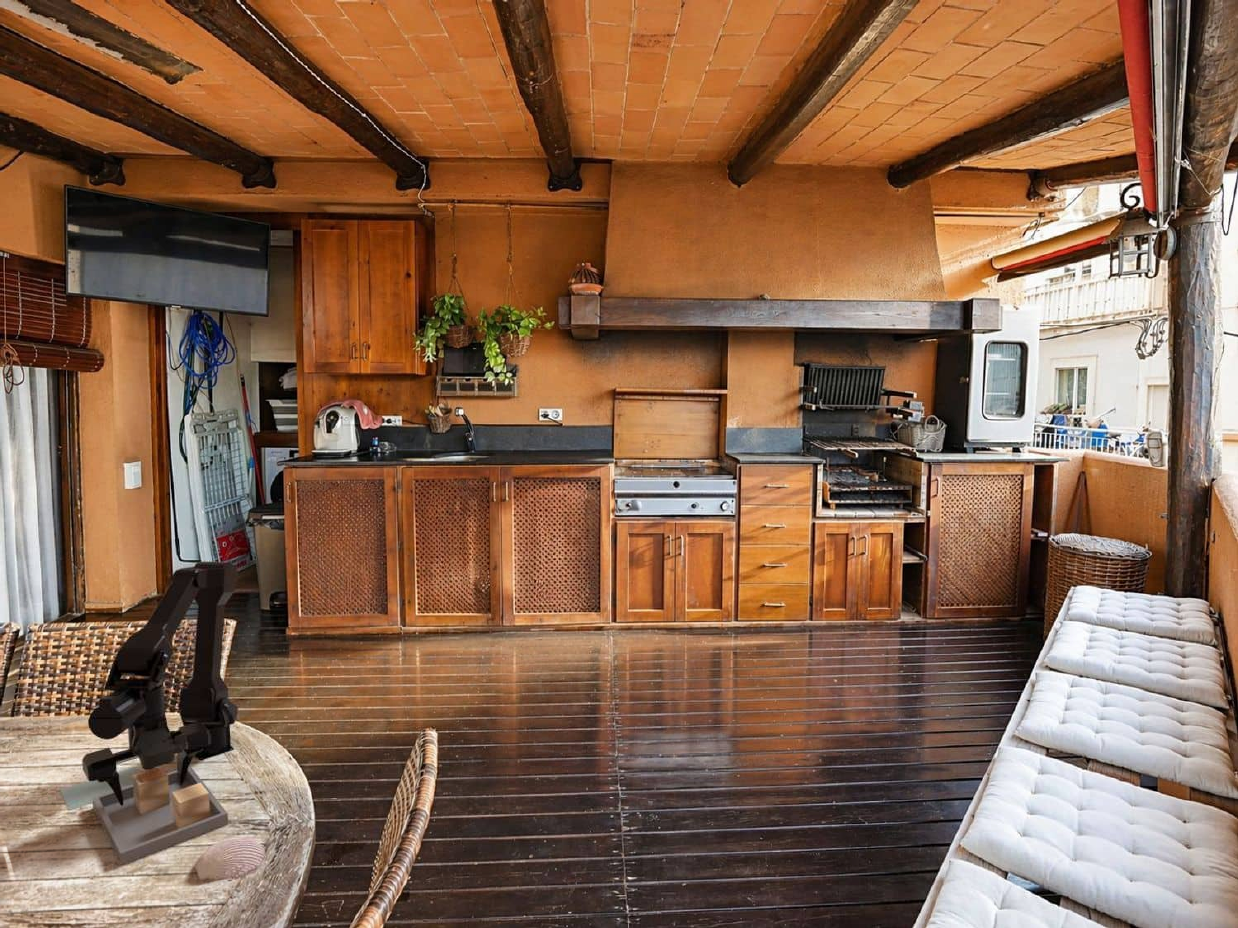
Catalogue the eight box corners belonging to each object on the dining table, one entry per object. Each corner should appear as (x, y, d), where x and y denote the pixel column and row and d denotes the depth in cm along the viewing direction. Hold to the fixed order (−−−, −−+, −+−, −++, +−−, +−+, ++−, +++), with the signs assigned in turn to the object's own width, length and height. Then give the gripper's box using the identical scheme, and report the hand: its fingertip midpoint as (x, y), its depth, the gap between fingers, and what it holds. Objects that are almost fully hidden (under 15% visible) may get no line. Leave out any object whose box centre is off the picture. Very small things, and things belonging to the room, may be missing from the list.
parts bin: (190, 777, 142) (190, 765, 142) (228, 826, 127) (227, 813, 127) (93, 810, 131) (92, 797, 131) (121, 868, 116) (120, 853, 116)
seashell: (173, 858, 114) (229, 811, 123) (183, 885, 116) (237, 837, 125) (219, 875, 110) (273, 826, 119) (228, 903, 112) (280, 853, 120)
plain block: (202, 811, 131) (200, 782, 130) (210, 822, 127) (208, 792, 127) (173, 822, 127) (171, 792, 127) (181, 833, 124) (179, 803, 124)
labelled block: (162, 794, 136) (161, 764, 135) (169, 804, 133) (167, 774, 132) (134, 803, 133) (132, 774, 132) (140, 814, 129) (138, 783, 129)
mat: (135, 768, 145) (135, 766, 145) (147, 786, 139) (147, 784, 139) (60, 792, 137) (59, 789, 137) (69, 812, 131) (68, 810, 130)
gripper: (91, 746, 118) (98, 836, 120) (218, 710, 132) (222, 792, 133) (78, 722, 126) (85, 808, 128) (199, 691, 139) (203, 768, 141)
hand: (151, 794), depth 132 cm, fingers open, 9 cm apart
